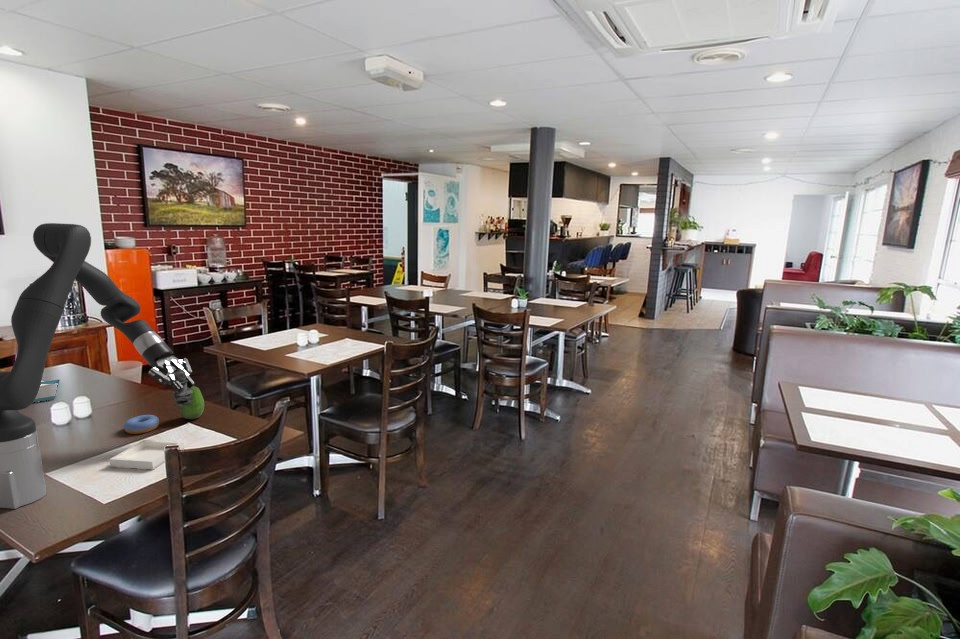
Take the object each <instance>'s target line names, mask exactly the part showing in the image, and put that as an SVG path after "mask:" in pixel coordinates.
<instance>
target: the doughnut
mask: <svg viewBox="0 0 960 639" xmlns="http://www.w3.org/2000/svg"><path fill="white" fill-rule="evenodd" d="M159 425H160V419H159V417H158V416H157V415H153V414H142V415H137V416H135V417H134V416H133V417H131V418H129V419H127V420H126V421H125V422H124V423H123V429H124V430H123V431H125V433H128V434H130V435H138V434H139V435H140V434H145V433H149V432H151V431H154V430H155V429H157V428H158V427H159Z"/></svg>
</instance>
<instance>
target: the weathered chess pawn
mask: <svg viewBox="0 0 960 639" xmlns="http://www.w3.org/2000/svg"><path fill="white" fill-rule="evenodd" d="M174 376H175V378H176V379H175V380H178V381H179V382H180V384H181V385H182V386H183V387H184V389H183V390H182V392H178V391H176V390H175V391H174V392H172V393H171V395H172V397H173V399H174V400H175V401H176V402H174V403H173V406H175V407H179V406H185V405H189V404H191V403H193V401H192V400H189V399H190V398H191V396H192V393H193V391H192V390H189V389H188V386H187V381H188V380H186V372H185V371H184V370H181V368H179V369H178V370H177V372H176V373H175V375H174Z"/></svg>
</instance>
